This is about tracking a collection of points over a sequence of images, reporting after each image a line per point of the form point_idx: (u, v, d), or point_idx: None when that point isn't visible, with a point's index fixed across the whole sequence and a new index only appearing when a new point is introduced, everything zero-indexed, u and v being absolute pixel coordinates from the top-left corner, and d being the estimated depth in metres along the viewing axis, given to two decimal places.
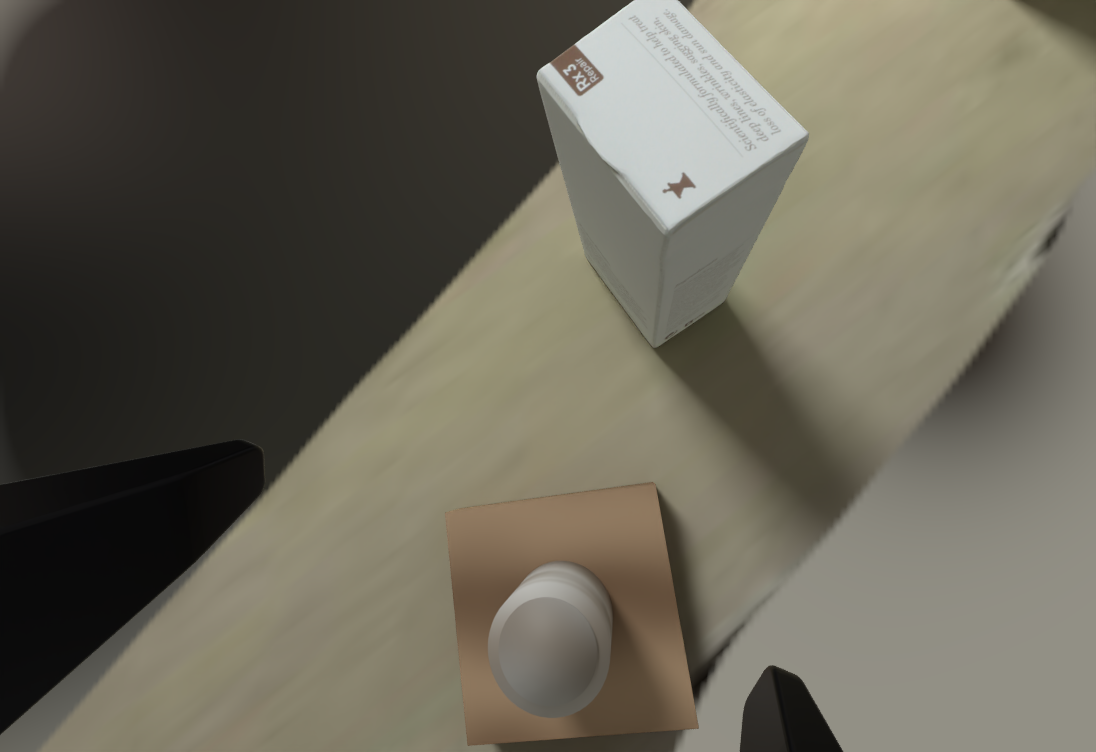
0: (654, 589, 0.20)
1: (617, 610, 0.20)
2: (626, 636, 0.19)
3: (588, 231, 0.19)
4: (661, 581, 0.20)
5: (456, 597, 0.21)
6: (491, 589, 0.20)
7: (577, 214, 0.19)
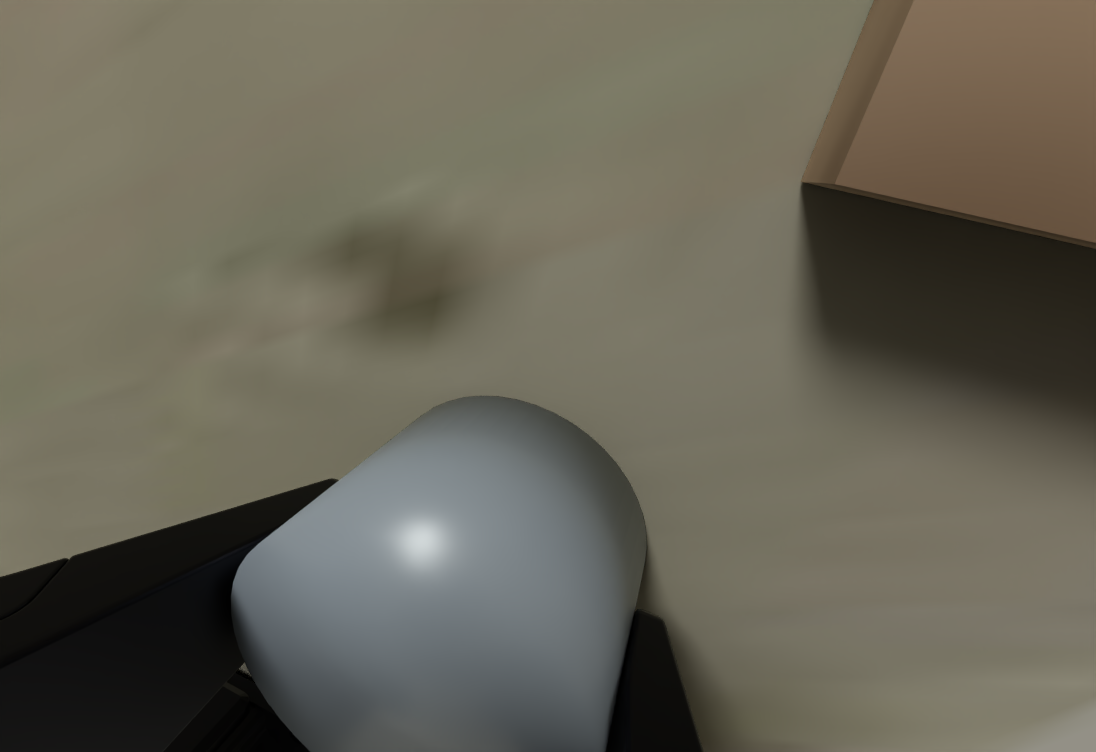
0: None
1: None
2: None
3: None
4: None
5: None
6: None
7: None
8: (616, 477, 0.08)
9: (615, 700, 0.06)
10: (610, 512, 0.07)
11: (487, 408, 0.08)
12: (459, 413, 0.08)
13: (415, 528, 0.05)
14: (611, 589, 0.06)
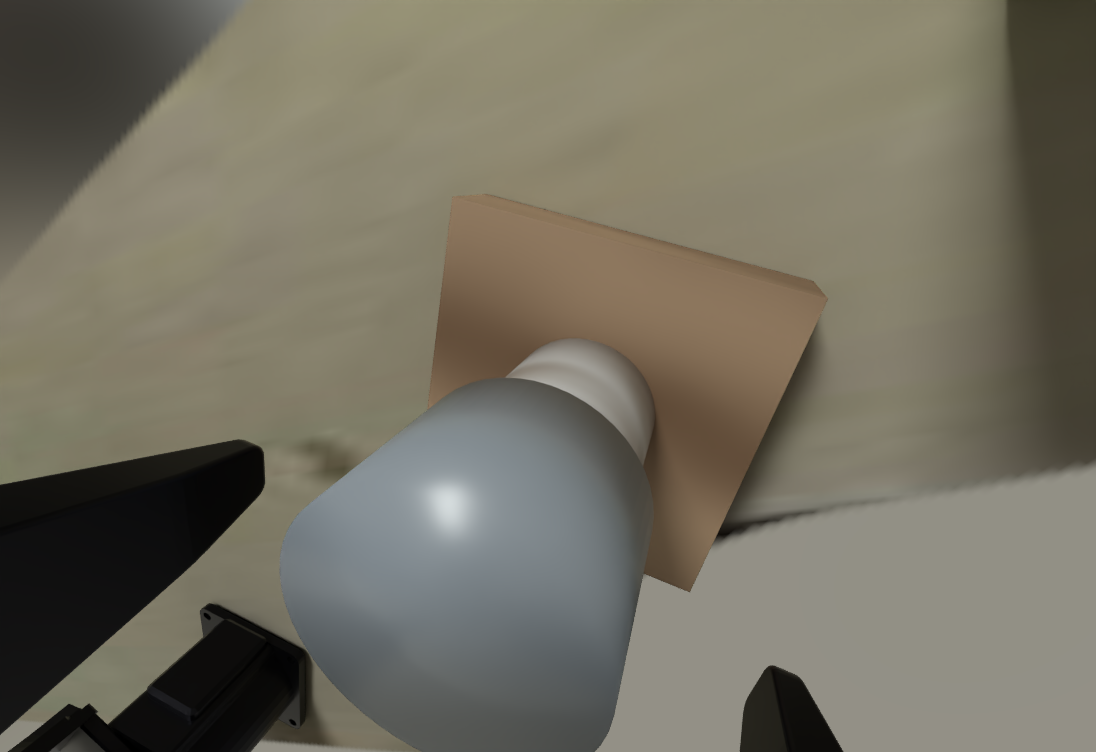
0: (725, 441, 0.12)
1: (657, 441, 0.13)
2: (653, 473, 0.13)
3: None
4: (742, 437, 0.12)
5: (441, 326, 0.14)
6: (492, 338, 0.13)
7: None
8: (627, 451, 0.08)
9: (627, 646, 0.07)
10: (621, 481, 0.08)
11: (507, 387, 0.08)
12: (482, 392, 0.08)
13: (452, 486, 0.06)
14: (624, 548, 0.07)
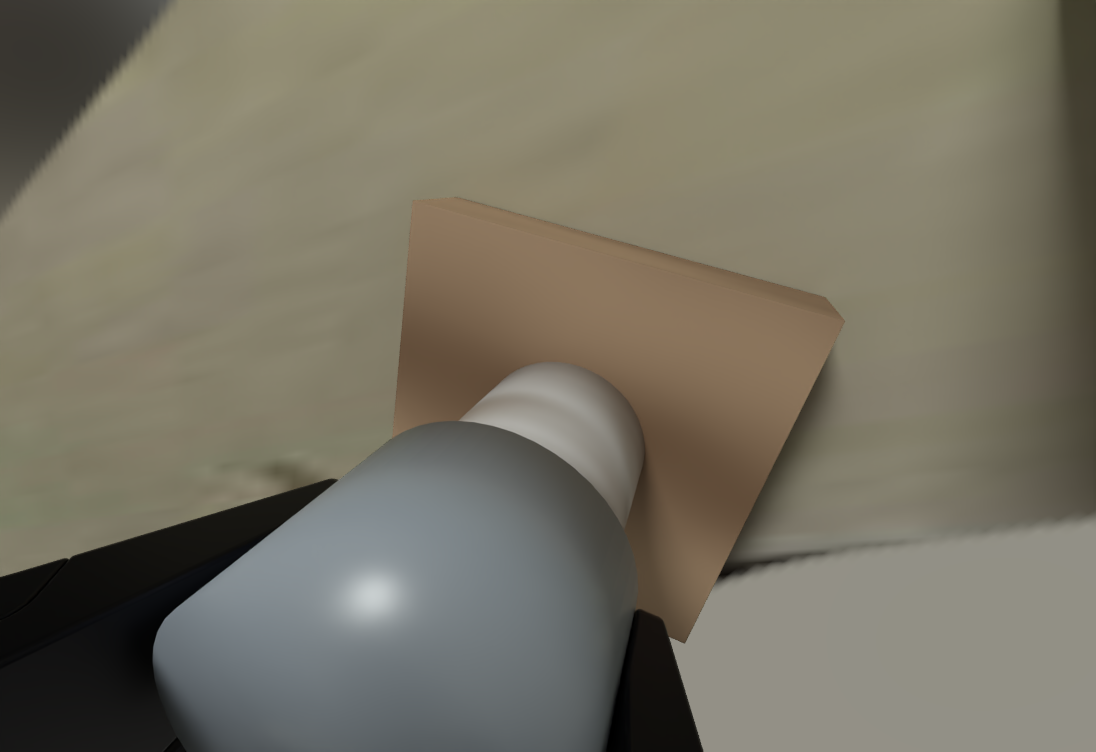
0: (724, 480, 0.11)
1: (647, 478, 0.11)
2: (643, 513, 0.12)
3: None
4: (744, 476, 0.11)
5: (405, 346, 0.12)
6: (461, 360, 0.12)
7: None
8: (605, 516, 0.07)
9: None
10: (596, 561, 0.06)
11: (458, 436, 0.07)
12: (427, 443, 0.07)
13: (356, 600, 0.04)
14: (595, 659, 0.05)
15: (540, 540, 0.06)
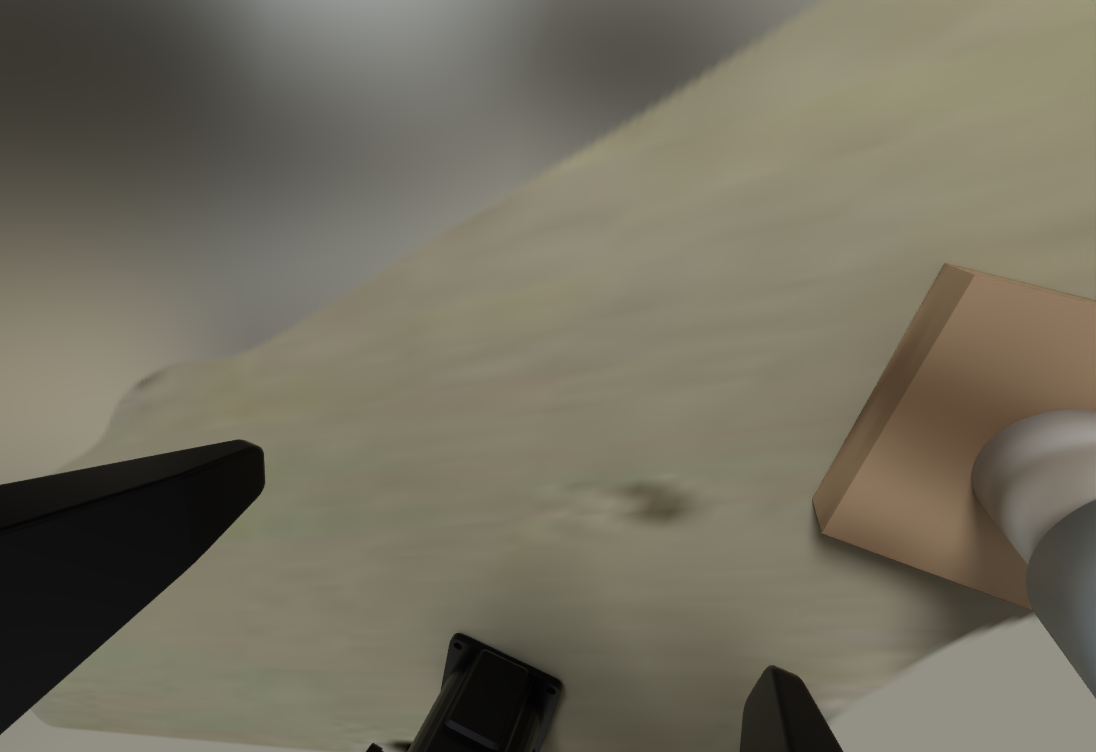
0: None
1: None
2: None
3: None
4: None
5: (911, 392, 0.14)
6: (973, 405, 0.14)
7: None
8: None
9: None
10: None
11: None
12: None
13: None
14: None
15: None
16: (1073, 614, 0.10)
